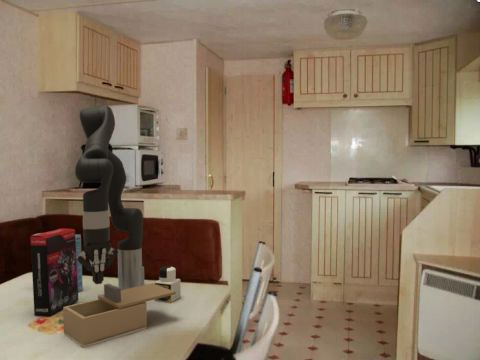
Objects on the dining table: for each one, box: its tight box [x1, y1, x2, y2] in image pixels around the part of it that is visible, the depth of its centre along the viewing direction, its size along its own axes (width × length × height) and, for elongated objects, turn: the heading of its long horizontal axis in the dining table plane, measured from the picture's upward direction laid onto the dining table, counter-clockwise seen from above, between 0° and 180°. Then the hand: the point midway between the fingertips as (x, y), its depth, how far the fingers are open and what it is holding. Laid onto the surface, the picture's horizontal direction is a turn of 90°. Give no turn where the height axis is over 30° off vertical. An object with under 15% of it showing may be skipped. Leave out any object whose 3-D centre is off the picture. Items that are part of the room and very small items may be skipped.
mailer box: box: [62, 298, 148, 348], centre depth 131 cm, size 20×14×8 cm
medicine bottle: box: [154, 265, 182, 304], centre depth 162 cm, size 7×7×12 cm
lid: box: [97, 282, 176, 308], centre depth 139 cm, size 20×14×5 cm
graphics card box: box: [29, 227, 79, 317], centre depth 152 cm, size 17×7×27 cm, turn 168°
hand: (98, 283), depth 129 cm, fingers closed
